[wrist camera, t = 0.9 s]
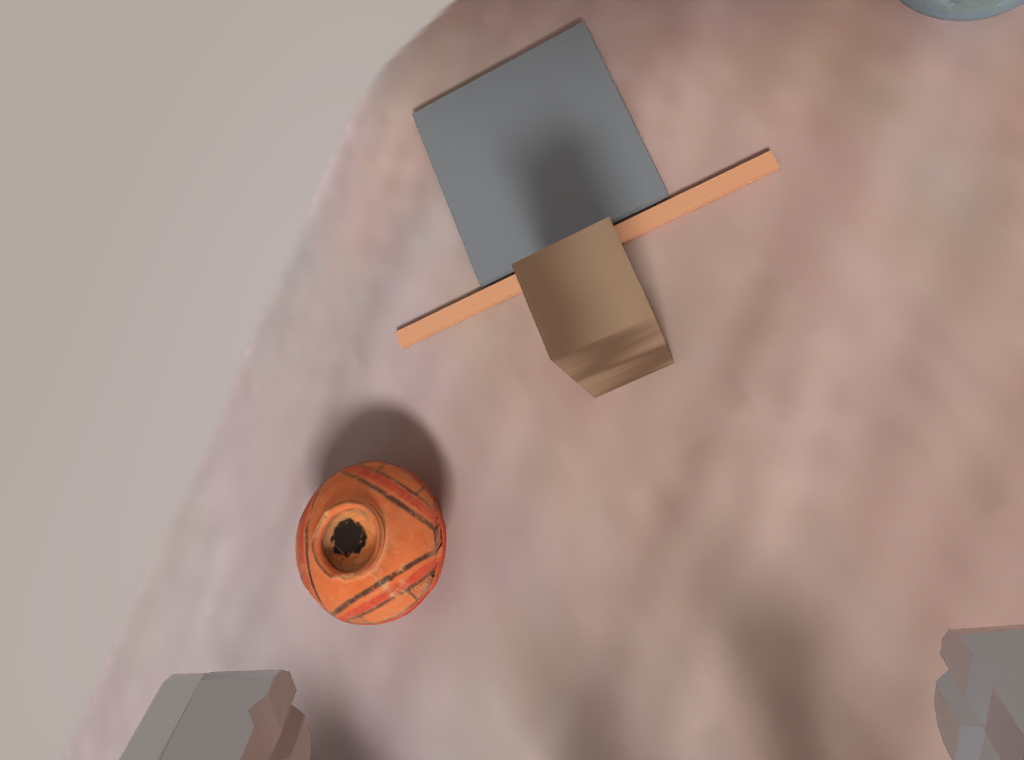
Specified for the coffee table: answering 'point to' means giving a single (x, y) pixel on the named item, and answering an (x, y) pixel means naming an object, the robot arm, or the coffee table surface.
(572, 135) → the mat
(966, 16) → the teal tumbler
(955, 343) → the coffee table surface
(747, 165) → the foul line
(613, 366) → the wooden square post
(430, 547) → the pot
